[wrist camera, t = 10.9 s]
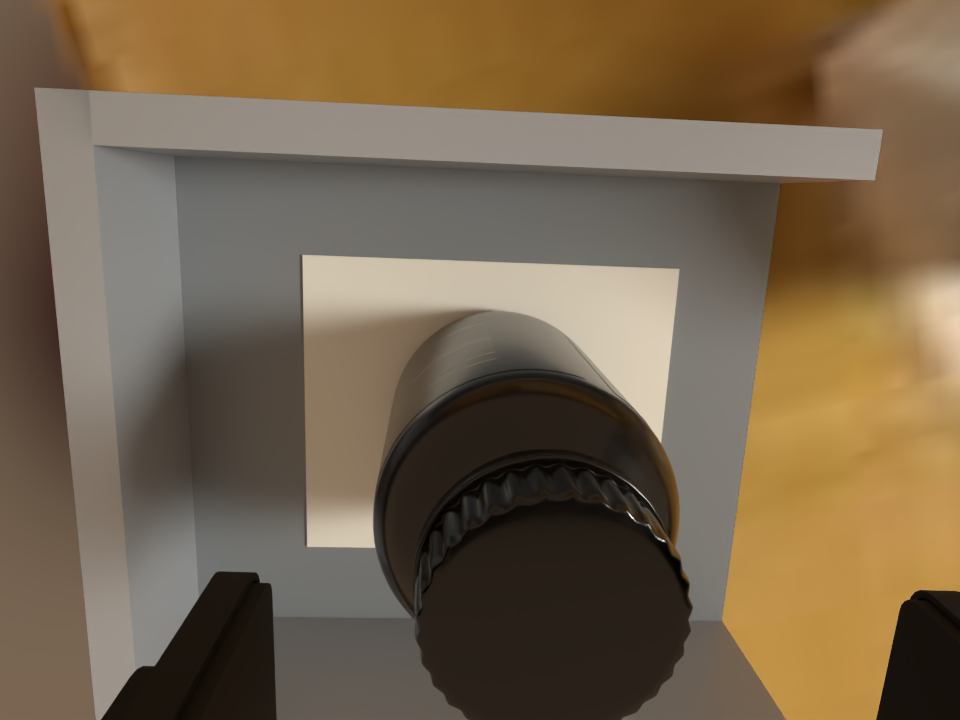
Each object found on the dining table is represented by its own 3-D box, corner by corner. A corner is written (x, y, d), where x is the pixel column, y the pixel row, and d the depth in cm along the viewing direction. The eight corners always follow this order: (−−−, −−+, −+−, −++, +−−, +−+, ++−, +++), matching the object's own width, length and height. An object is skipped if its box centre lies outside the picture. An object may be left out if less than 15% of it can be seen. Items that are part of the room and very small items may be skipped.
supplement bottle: (402, 509, 24) (360, 808, 12) (387, 313, 22) (322, 443, 11) (601, 497, 24) (743, 778, 13) (600, 302, 23) (762, 417, 11)
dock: (758, 148, 24) (883, 129, 17) (698, 617, 28) (780, 753, 21) (157, 119, 23) (34, 87, 16) (187, 613, 27) (99, 755, 20)
